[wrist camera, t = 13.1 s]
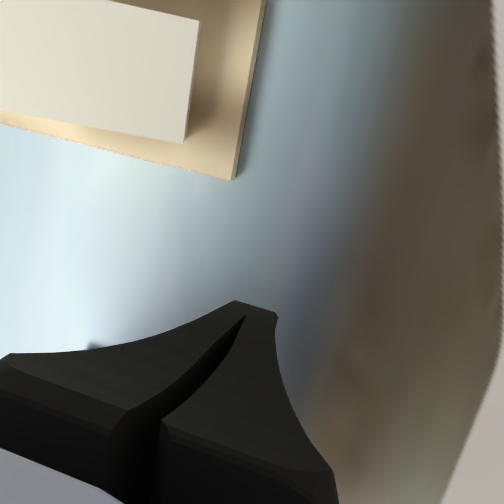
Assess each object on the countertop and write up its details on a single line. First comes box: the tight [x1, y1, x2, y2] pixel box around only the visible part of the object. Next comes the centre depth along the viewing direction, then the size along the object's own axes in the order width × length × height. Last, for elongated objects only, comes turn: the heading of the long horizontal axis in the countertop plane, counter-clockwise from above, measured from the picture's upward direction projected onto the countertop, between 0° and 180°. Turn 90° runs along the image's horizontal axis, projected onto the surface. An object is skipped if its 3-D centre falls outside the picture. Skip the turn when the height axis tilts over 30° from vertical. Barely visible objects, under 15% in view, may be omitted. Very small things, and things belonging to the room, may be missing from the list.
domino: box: [0, 0, 201, 144], centre depth 19 cm, size 5×2×8 cm
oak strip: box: [0, 0, 266, 181], centre depth 22 cm, size 8×24×1 cm, turn 79°
